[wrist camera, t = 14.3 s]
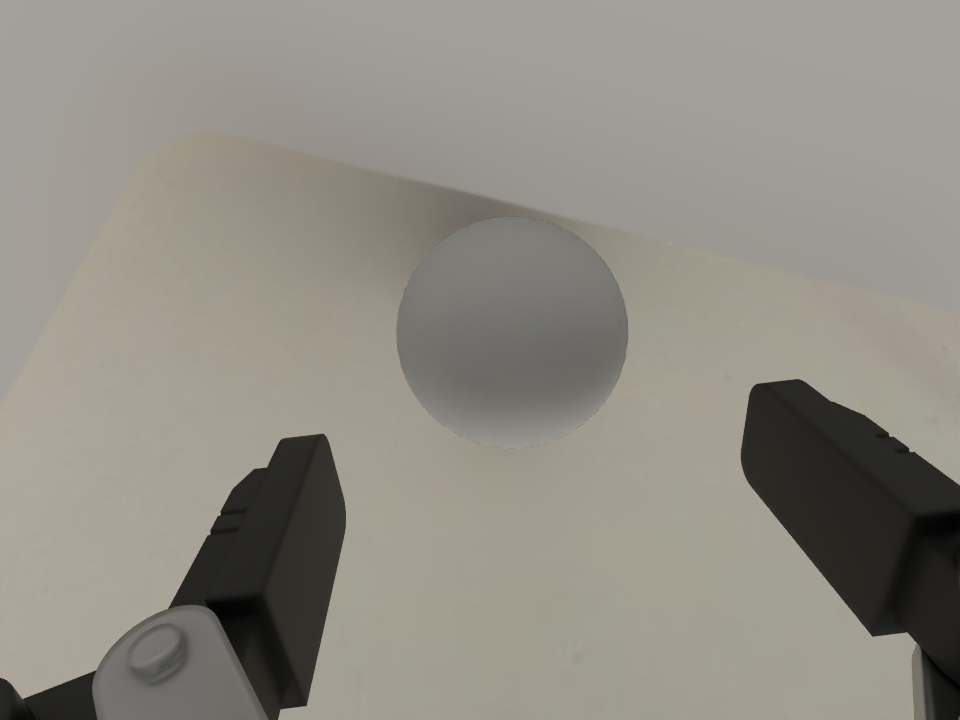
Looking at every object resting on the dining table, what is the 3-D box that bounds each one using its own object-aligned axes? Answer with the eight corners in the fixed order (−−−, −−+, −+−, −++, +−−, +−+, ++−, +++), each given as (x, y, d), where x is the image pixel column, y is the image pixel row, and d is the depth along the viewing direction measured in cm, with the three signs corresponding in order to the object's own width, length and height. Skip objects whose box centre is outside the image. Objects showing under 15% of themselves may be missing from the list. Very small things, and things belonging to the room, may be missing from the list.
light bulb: (586, 478, 20) (677, 417, 10) (426, 480, 20) (366, 422, 10) (575, 329, 21) (643, 160, 12) (429, 331, 22) (381, 166, 12)
